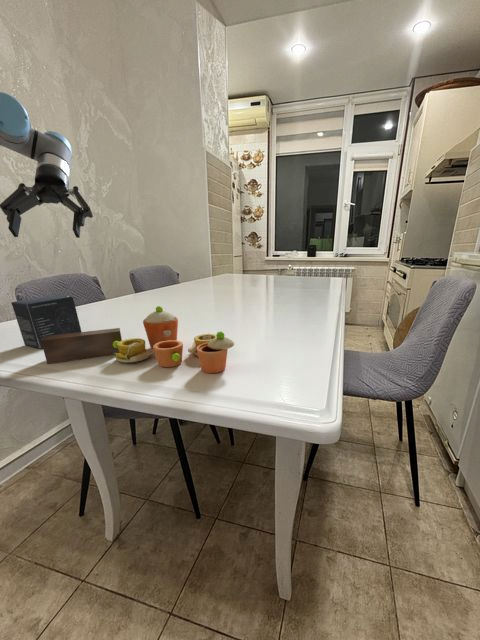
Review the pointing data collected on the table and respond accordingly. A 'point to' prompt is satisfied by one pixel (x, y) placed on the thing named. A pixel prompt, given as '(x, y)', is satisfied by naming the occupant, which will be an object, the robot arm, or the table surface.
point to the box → (46, 318)
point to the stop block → (80, 345)
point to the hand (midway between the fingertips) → (45, 233)
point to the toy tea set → (174, 344)
